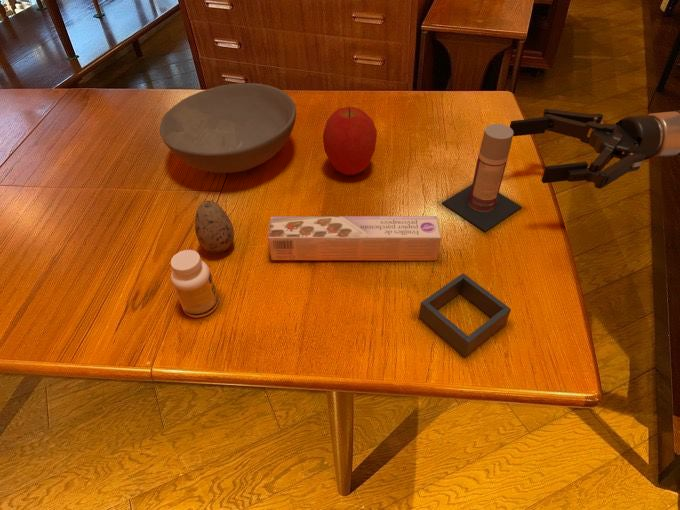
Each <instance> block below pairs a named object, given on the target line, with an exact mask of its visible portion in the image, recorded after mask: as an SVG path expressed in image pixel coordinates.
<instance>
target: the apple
mask: <svg viewBox="0 0 680 510" xmlns="http://www.w3.org/2000/svg"><path fill="white" fill-rule="evenodd" d="M377 132H378V131H377V127H376V125H375V123H374V120H373V119H372V117H370V116H369V115H368V114H367V113H366V112H365V111H364V110H362V109H361V108H358V107H354V106H350V105H349V106H345V107H340V108H338V109H336V110H335V111H334V112H333V113H332V114H331V115H330V116H329V117H328V118H327V120H326V123H325V126H324V129H323V134H322V140H323V150H324V153H325V155H326V156H327V158H328V160H329V162H330V163H331V165H332V167H333V169H334V170H336V171H337V172H339V173H340V174H342V175H345V176H354V175H357V174H359V173H362V172H363V171H365V170H366V169H367V168H368V166H369V164H370V162H371V161H372V160H371V159H372V158H373V156H374V154H375V152H376V147H377V146H376V144H377V136H378V133H377Z"/></svg>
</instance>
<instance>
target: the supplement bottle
mask: <svg viewBox="0 0 680 510" xmlns="http://www.w3.org/2000/svg"><path fill="white" fill-rule="evenodd" d="M170 267H171V269H172V270H171V273H170V280H171V283H172V285H173V288H174V291H175V293H176V296H177V298H178V301H179V303H180V306H181V308H182V310H183V312H184V313H185V314H186V315H187V316H188V317H191V318H202V317H204V318H205V317H206V316H208V315H210V314H211V313H213V312H214V311H215V310H216V309H217V307H218V305H219V296H218V292H217V289H216V285H215V283H214V280H213V276H212V273H211V270H210V268H209V266H208V264H207V263H206V262H205V261H203V260H202V258H201V255H200V253H198V251H196V250H193V249H183V250H180V251H178V252H177V253H175V254H174V255H173V256H172V257H171V259H170Z"/></svg>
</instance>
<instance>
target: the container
mask: <svg viewBox="0 0 680 510" xmlns="http://www.w3.org/2000/svg"><path fill="white" fill-rule="evenodd" d="M513 134H514V132H513V130H512V129H511V128H510V126H508V125H507V124H502V123H490V124H489V125H487V126H486V127H484V131H483V135H482V140H481V143H480V148H479V151H478V156H477V159H476V160H477V161H476V164H475V169H474V174H473V180H472V184H471V185H472V188H471V193H470V198H469V206H470V207H471V208H472V209H473V210H475V211H477V212H483V213H485V212H490V211H492V210H493V209H494V208H495V205H496V201H497V197H498V193H500V189H501V185H502V181H503V177H504V174H505V171H506V167H507V163H508V159H509V154H510V150H511V147H512V142H513V138H514V136H513Z"/></svg>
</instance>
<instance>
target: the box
mask: <svg viewBox="0 0 680 510" xmlns="http://www.w3.org/2000/svg"><path fill="white" fill-rule="evenodd" d="M268 225H269V226H268V233H267V243H268V247H269V254H270V258H271V261H438V257H439V251H440V246H441V241H442V234H441V228H440V221H439V218H438V216H437V215H330V216H329V215H328V216H327V215H324V216H323V215H319V216H318V215H317V216H316V215H315V216H314V215H313V216H312V215H311V216H310V215H307V216H306V215H305V216H299V215H298V216H297V215H296V216H295V215H293V216H291V215H290V216H289V215H286V216H283V215H282V216H281V215H279V216H277V215H275V216H273V215H272V216H271V217H270V220H269V224H268Z"/></svg>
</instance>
